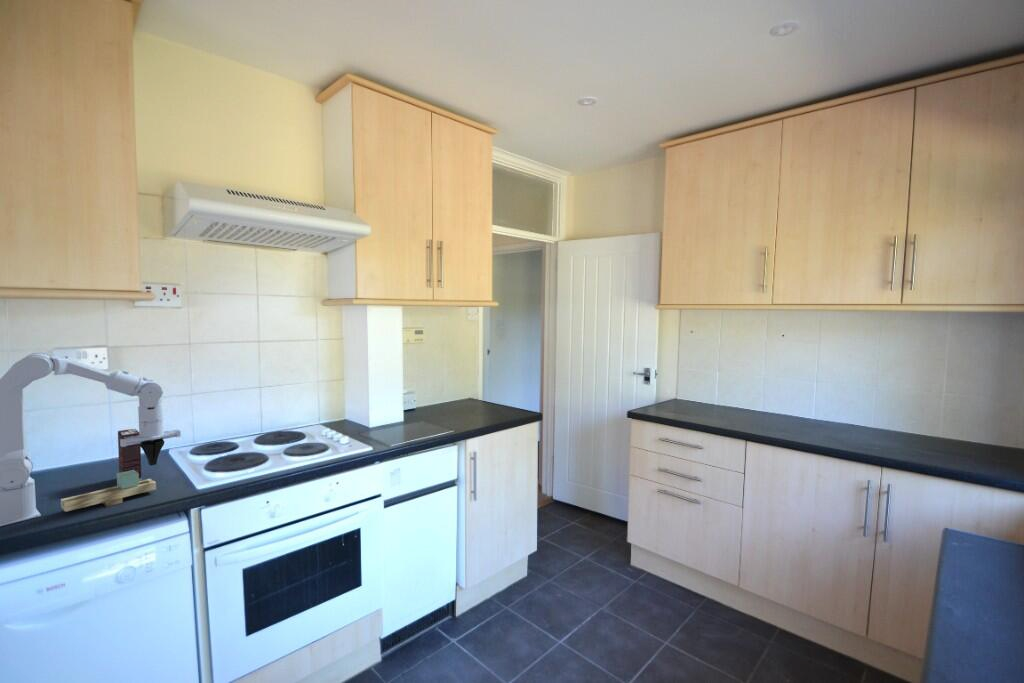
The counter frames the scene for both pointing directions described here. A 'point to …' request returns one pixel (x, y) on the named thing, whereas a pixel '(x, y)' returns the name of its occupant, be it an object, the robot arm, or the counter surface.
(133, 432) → the supplement box
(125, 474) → the block
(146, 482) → the beam
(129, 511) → the counter surface
